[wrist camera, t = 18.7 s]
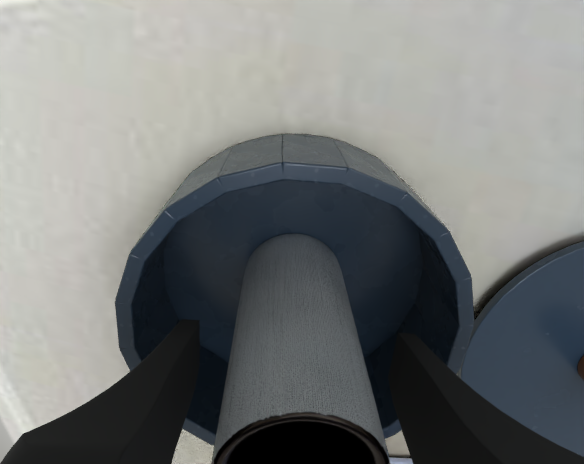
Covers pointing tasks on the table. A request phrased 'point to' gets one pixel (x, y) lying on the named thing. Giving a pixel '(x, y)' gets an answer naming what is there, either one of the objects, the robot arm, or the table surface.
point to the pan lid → (535, 349)
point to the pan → (295, 220)
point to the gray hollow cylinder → (297, 365)
